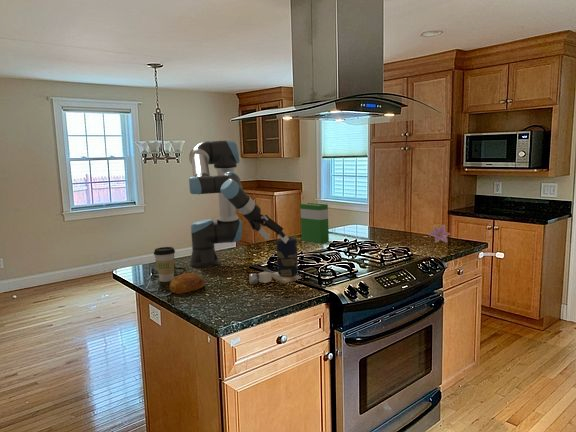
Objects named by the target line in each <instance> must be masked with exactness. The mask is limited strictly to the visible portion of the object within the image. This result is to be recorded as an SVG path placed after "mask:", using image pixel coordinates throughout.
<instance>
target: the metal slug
mask: <svg viewBox="0 0 576 432" xmlns="http://www.w3.org/2000/svg"><path fill="white" fill-rule="evenodd" d="M248 276H249V277H248V278H249V279H248V280H249V285H257V284H259V283H258V282H259V278H258V273H249V274H248Z"/></svg>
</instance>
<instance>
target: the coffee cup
mask: <svg viewBox="0 0 576 432" xmlns="http://www.w3.org/2000/svg"><path fill="white" fill-rule="evenodd" d="M175 253H176V250H175V248H174V247H172V246H162V247H161V246H160V247H156V248H155V249H154V252H153V255H154V258H155V265H156V270H157V274H158V279H159V282H162V283H167V282H169V283H170V281H171V280H172V279H173V278H174V277H175V276H174V273H175V258H176V257H175Z"/></svg>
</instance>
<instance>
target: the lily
mask: <svg viewBox="0 0 576 432" xmlns="http://www.w3.org/2000/svg"><path fill="white" fill-rule="evenodd" d="M432 229H433V231H430V232H428V233H427V235H428V236H431V237H434V242H435V243H437V242H439V241H443V242H444V243H448V238H447V236H449V235H451V233H450V232H447V231H446V225H445V224H441V226H439V227H437V226H434V225H433V226H432Z"/></svg>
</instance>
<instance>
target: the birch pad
mask: <svg viewBox="0 0 576 432" xmlns="http://www.w3.org/2000/svg"><path fill="white" fill-rule="evenodd" d="M301 278H302V277H301V276H299V275H297V274H296V275H293V276H281V275H279V274H278V271H276V272H275V271H274V272H271V280H274V281H276V282H278V283H281V284H286V283H293V282H296V280H297V281H299V280H298V279H301Z"/></svg>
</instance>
